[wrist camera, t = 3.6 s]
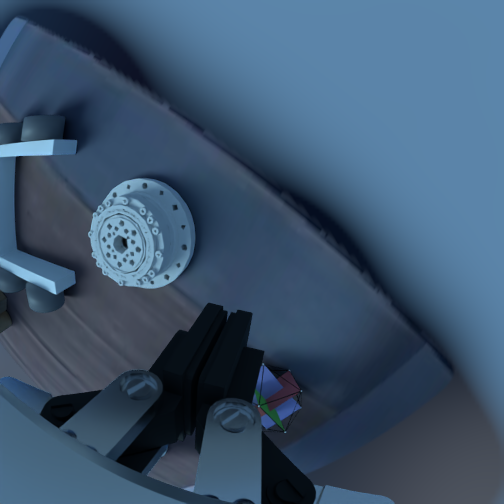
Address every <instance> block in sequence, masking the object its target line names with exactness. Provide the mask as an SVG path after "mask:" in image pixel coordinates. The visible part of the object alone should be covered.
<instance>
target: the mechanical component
mask: <svg viewBox="0 0 504 504" xmlns="http://www.w3.org/2000/svg"><path fill="white" fill-rule="evenodd" d="M88 235H89V237H90V238H91V245H92V249H93V252H92V257H93V258H96V260H97V262H96V264H97V266H98V267H101V268H102V269H103V270H102V271H103V274H104V275H108V276H109V277H110V278H112V279H113V280H115V281H116V282H118V284H119V285H120V286H123V285H126V286H137V287H142V288H158V287H162V286H165V285H167V284H168V283H170V282H172V281H174V280H175V279H176V278H177V277H178V276H179V275H180V274H181V273H182V272H183V271H184V270H185V268H186V267H187V266H188V264H189V262H190V260H191V258H192V256H193V252H194V246H195V226H194V222H193V218H192V215H191V212H190V210H189V208H188V206H187V204H186V203H185V202H184V200H183V199H182V198H181V196H180V195H179V194H178V192H176V191H175V190H174V189H172V188H171V187H170V186H168V185H167V184H165V183H163V182H161V181H158V180H155V179H149V178H138V179H133V180H129V181H124V182H123V183H121V184H120V185H118V186H117V187H115V188H114V189H112V190H111V192H110V193H109V194H108V196H107V197H106V199H105V200H104V201H103V204H102V205H100V206H98V210H97V211H96V212H95V213H93V220H92V224H91V231H90V232H89V233H88Z"/></svg>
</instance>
